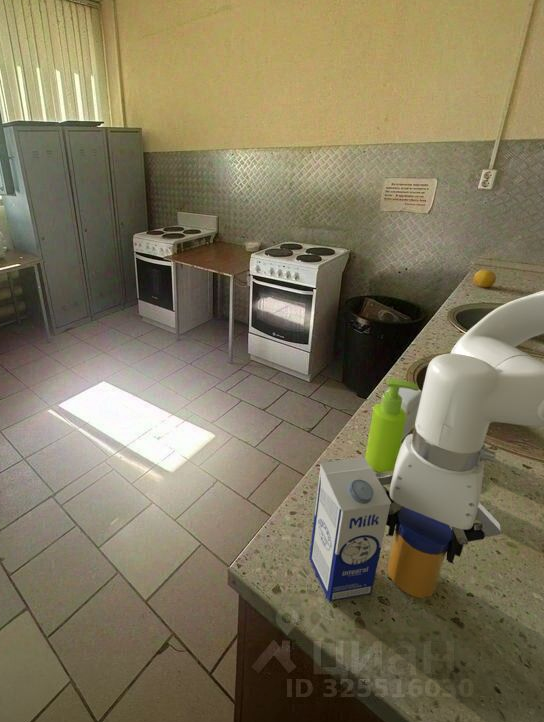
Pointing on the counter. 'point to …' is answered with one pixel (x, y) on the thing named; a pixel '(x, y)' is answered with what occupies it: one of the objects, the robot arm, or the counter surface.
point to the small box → (409, 407)
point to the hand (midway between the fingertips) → (419, 540)
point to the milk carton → (348, 527)
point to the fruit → (484, 278)
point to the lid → (423, 532)
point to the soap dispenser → (387, 428)
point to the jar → (413, 568)
